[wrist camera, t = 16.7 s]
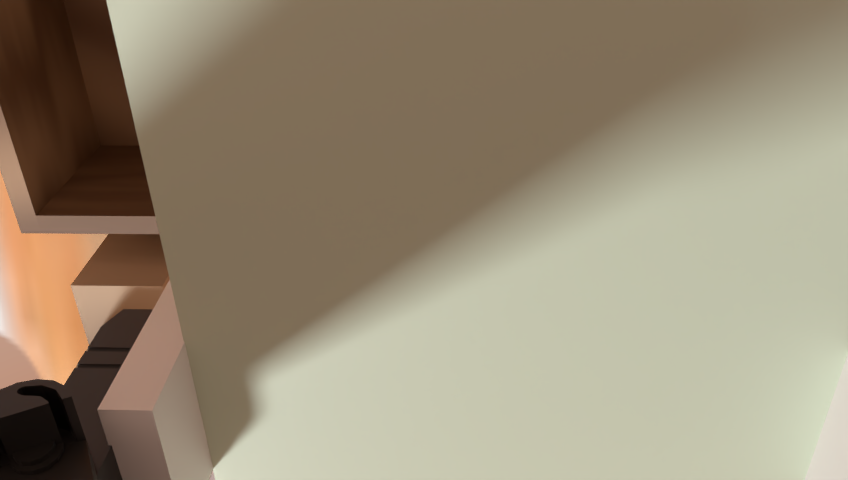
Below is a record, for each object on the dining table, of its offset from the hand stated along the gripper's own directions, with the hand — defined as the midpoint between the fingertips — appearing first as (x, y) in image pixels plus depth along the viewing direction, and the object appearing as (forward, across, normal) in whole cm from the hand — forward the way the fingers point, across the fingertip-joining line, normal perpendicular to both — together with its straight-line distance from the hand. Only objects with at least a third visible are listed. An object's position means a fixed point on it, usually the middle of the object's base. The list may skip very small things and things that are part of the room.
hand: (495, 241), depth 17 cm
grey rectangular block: (+1, 0, 0) cm, 1 cm away
